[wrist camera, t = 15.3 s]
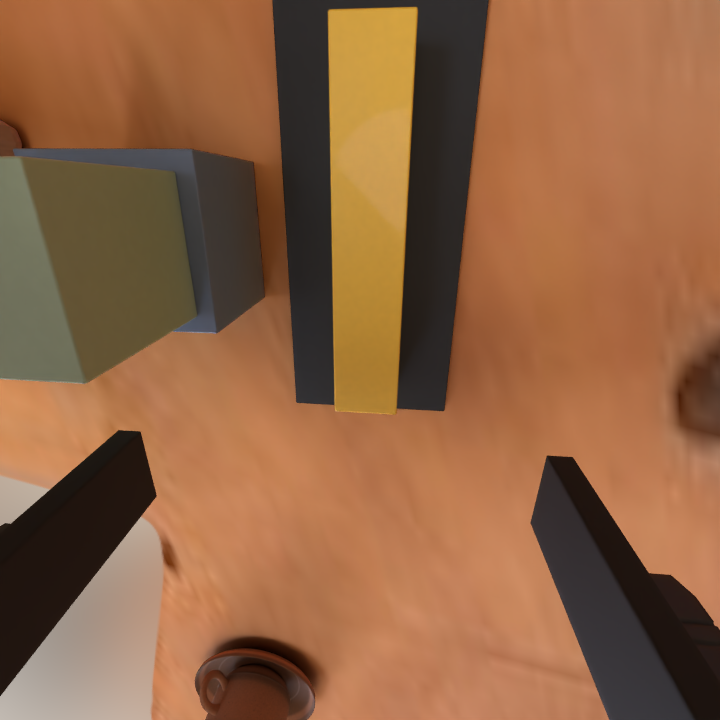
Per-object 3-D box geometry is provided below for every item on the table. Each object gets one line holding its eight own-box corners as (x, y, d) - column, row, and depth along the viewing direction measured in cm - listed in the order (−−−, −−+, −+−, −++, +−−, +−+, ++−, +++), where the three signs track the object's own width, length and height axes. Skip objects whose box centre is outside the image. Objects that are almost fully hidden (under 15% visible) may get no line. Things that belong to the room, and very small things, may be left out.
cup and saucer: (184, 672, 42) (150, 747, 36) (238, 616, 37) (208, 693, 32) (280, 721, 43) (262, 799, 38) (341, 673, 39) (331, 755, 33)
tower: (123, 161, 22) (-252, 117, 10) (253, 161, 22) (40, 116, 9) (149, 293, 25) (-109, 395, 12) (265, 297, 25) (118, 409, 12)
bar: (341, 44, 19) (327, 8, 15) (414, 42, 19) (418, 5, 15) (343, 380, 26) (334, 411, 22) (397, 383, 26) (396, 415, 22)
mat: (274, -7, 19) (271, -11, 18) (488, -14, 18) (490, -19, 18) (297, 400, 27) (296, 402, 27) (443, 408, 27) (444, 411, 26)
